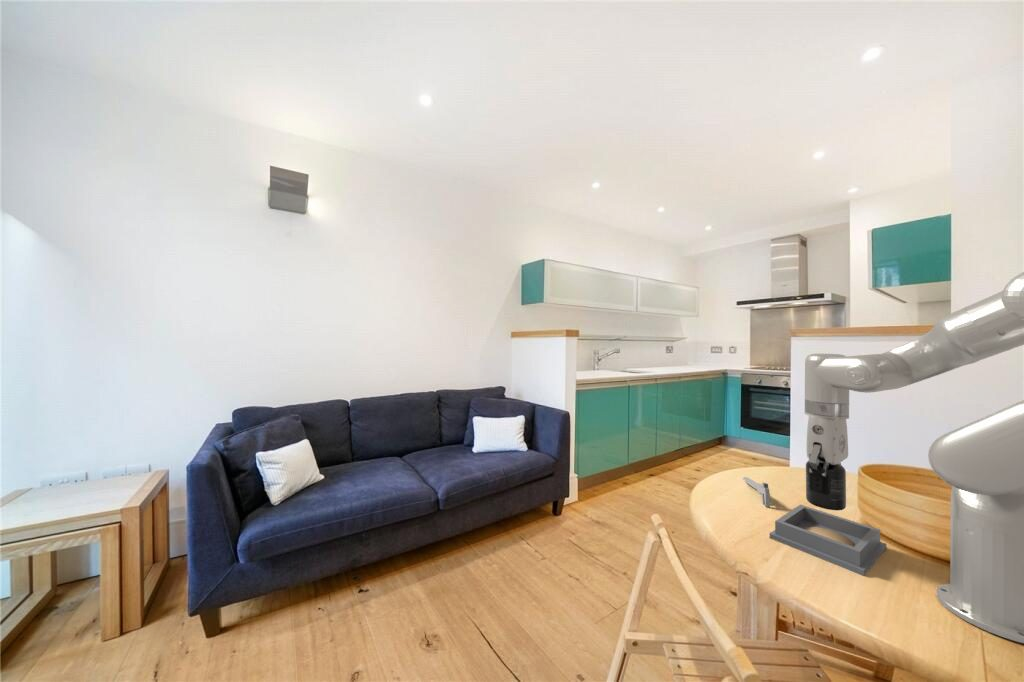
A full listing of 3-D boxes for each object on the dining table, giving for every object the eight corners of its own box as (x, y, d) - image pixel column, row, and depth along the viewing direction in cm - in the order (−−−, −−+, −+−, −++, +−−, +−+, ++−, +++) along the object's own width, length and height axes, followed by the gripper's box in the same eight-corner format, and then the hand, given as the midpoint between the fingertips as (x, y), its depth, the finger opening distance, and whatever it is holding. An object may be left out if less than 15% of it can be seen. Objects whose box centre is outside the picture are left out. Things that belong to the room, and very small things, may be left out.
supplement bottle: (842, 501, 82) (842, 449, 82) (849, 514, 77) (850, 458, 76) (803, 494, 86) (803, 444, 86) (807, 506, 80) (808, 452, 80)
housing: (886, 548, 79) (886, 530, 79) (864, 575, 70) (864, 555, 70) (797, 517, 92) (797, 502, 92) (769, 537, 84) (769, 520, 84)
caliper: (770, 509, 98) (770, 485, 98) (765, 508, 98) (765, 485, 98) (746, 479, 117) (746, 460, 117) (742, 479, 118) (742, 460, 118)
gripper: (834, 417, 73) (833, 505, 73) (861, 407, 82) (859, 484, 83) (790, 411, 79) (789, 491, 80) (819, 402, 89) (818, 474, 89)
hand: (825, 487), depth 81 cm, fingers closed on supplement bottle, 6 cm apart
